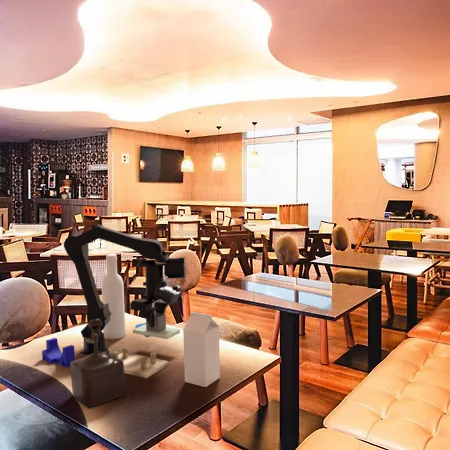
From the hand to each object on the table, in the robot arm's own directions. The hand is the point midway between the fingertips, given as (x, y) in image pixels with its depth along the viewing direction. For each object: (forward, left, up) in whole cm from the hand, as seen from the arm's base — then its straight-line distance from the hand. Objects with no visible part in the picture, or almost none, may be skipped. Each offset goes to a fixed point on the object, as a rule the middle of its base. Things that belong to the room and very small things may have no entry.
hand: (156, 325), depth 149 cm
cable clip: (-22, -22, -9) cm, 32 cm away
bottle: (-23, +5, -9) cm, 25 cm away
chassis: (+2, -14, -8) cm, 16 cm away
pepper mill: (+4, -32, -9) cm, 34 cm away
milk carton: (+26, -13, -9) cm, 30 cm away
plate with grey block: (0, 0, -3) cm, 3 cm away
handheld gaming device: (-16, +17, -9) cm, 25 cm away
